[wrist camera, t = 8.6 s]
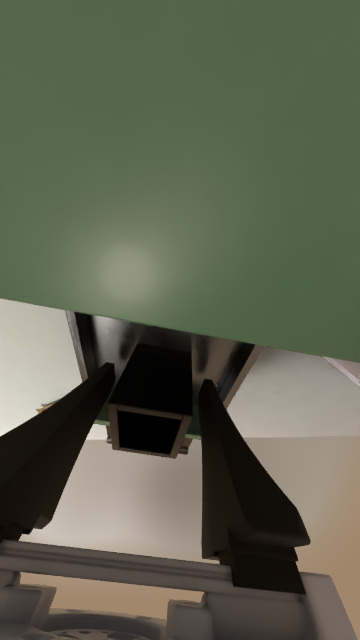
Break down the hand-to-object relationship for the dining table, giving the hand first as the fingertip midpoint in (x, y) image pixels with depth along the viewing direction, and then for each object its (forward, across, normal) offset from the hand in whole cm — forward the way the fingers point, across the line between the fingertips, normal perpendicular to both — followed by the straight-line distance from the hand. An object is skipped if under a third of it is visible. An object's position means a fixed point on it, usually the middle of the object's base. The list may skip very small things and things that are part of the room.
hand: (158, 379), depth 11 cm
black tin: (+1, 0, 0) cm, 1 cm away
